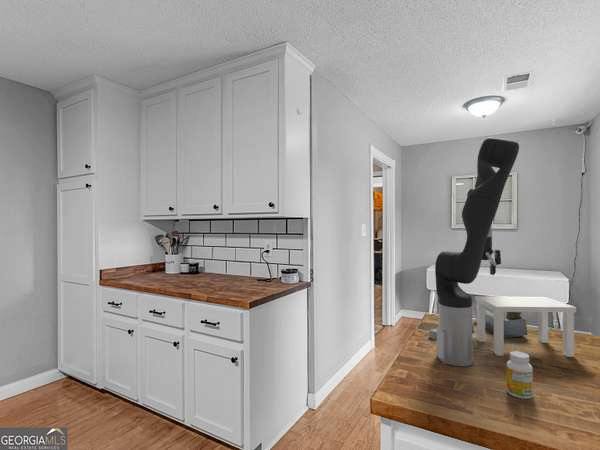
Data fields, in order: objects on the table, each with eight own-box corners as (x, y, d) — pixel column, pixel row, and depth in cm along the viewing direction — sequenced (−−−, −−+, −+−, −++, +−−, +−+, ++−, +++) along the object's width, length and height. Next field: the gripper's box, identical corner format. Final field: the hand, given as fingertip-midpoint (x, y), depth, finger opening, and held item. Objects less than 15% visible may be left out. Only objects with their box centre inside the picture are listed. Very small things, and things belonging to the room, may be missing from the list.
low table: (496, 356, 104) (496, 306, 104) (475, 339, 119) (475, 296, 119) (576, 357, 103) (576, 307, 103) (545, 340, 117) (544, 296, 117)
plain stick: (429, 338, 122) (429, 329, 122) (468, 330, 130) (468, 322, 130) (434, 340, 120) (434, 331, 120) (473, 332, 128) (473, 324, 128)
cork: (527, 336, 121) (527, 306, 121) (510, 336, 122) (510, 306, 121) (517, 331, 127) (517, 302, 127) (500, 331, 128) (500, 302, 128)
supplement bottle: (508, 385, 86) (508, 348, 86) (533, 392, 82) (533, 353, 82) (505, 394, 82) (504, 355, 81) (531, 401, 78) (531, 360, 78)
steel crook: (503, 338, 120) (500, 321, 120) (476, 321, 141) (474, 307, 141) (527, 335, 120) (525, 318, 120) (497, 318, 140) (495, 304, 140)
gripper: (467, 236, 135) (467, 276, 135) (504, 236, 134) (504, 276, 134) (460, 235, 142) (460, 273, 142) (494, 235, 141) (494, 273, 142)
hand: (481, 274), depth 138 cm, fingers open, 8 cm apart
